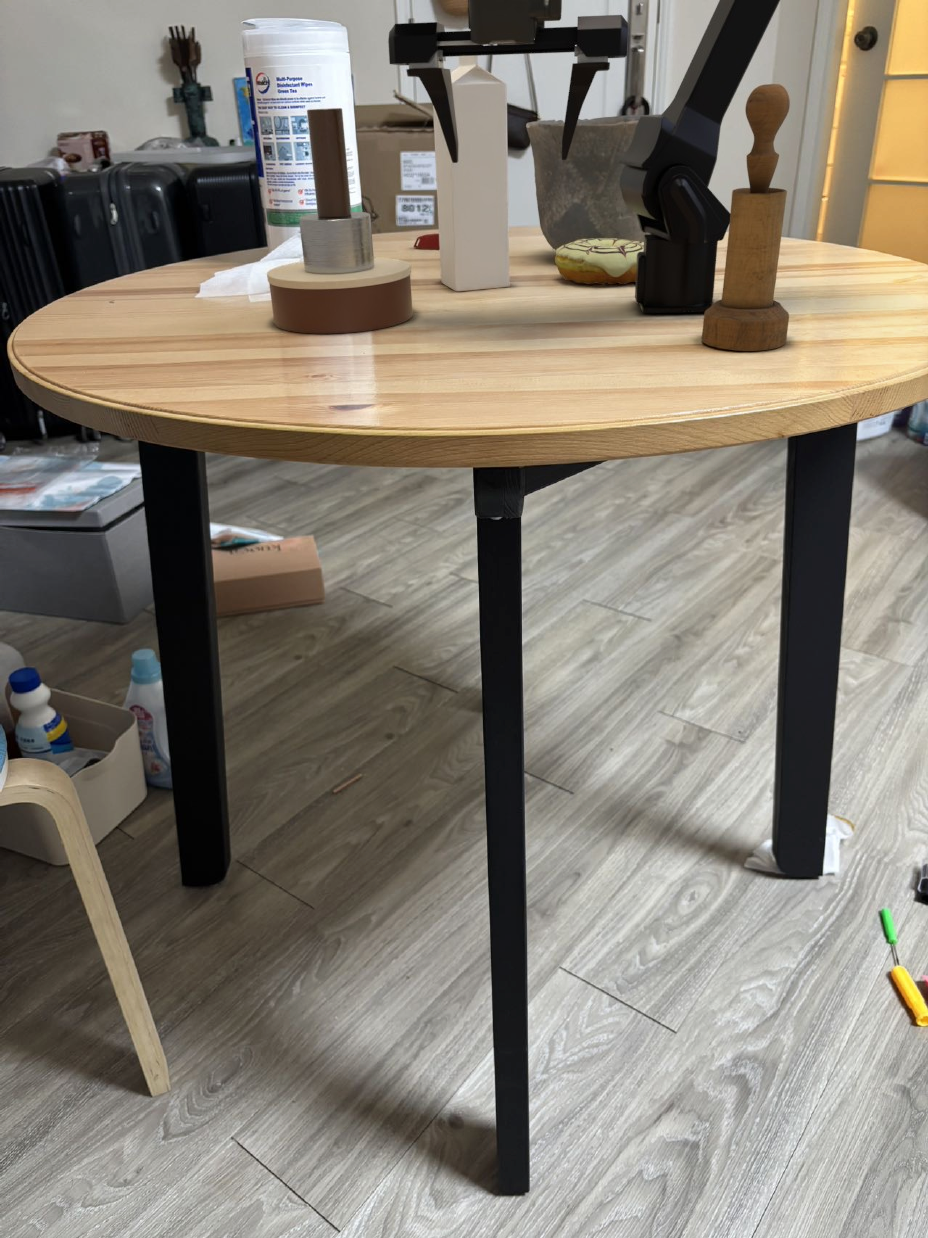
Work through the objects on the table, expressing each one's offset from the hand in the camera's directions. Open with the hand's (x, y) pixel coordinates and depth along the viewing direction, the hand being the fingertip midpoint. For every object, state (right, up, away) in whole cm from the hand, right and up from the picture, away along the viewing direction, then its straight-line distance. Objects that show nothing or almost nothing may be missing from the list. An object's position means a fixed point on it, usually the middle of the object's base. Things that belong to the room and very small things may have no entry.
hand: (509, 161), depth 81 cm
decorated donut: (+11, -2, +23) cm, 26 cm away
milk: (-3, -3, +23) cm, 23 cm away
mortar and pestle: (+18, -17, -4) cm, 25 cm away
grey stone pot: (+13, +5, +36) cm, 38 cm away
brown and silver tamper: (-15, -6, +7) cm, 18 cm away
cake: (-15, -10, +10) cm, 21 cm away
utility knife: (-5, +10, +47) cm, 48 cm away
